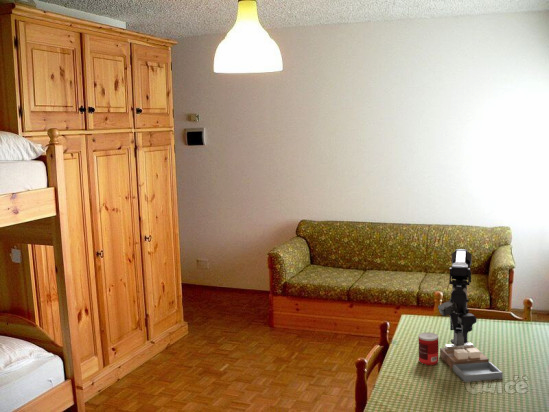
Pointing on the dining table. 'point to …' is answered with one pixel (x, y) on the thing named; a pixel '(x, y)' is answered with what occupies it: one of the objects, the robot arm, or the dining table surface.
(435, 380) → the dining table surface
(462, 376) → the box
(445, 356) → the plate
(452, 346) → the scraper
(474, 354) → the tile
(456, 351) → the tile
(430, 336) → the canned food
